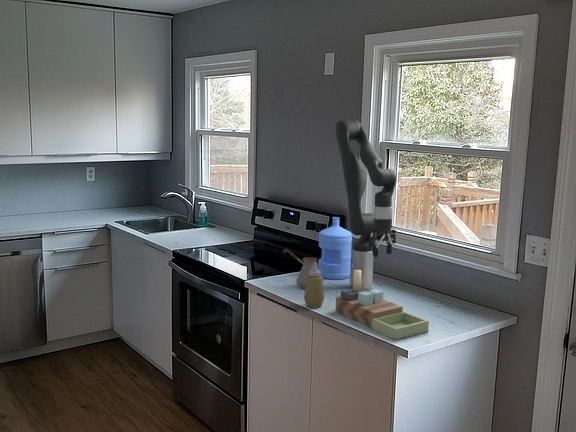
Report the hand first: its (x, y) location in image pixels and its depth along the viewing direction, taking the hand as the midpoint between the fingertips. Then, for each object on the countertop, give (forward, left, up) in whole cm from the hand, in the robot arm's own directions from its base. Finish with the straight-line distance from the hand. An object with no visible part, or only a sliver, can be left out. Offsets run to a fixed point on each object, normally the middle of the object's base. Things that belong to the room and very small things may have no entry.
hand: (382, 255), depth 250 cm
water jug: (-36, +4, -18) cm, 41 cm away
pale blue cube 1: (+18, -24, -12) cm, 32 cm away
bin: (+34, -22, -18) cm, 44 cm away
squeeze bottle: (-4, -32, -18) cm, 37 cm away
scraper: (+10, -22, -12) cm, 27 cm away
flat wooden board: (+17, -22, -18) cm, 33 cm away
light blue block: (+18, -19, -12) cm, 29 cm away
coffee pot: (-31, -19, -18) cm, 41 cm away
